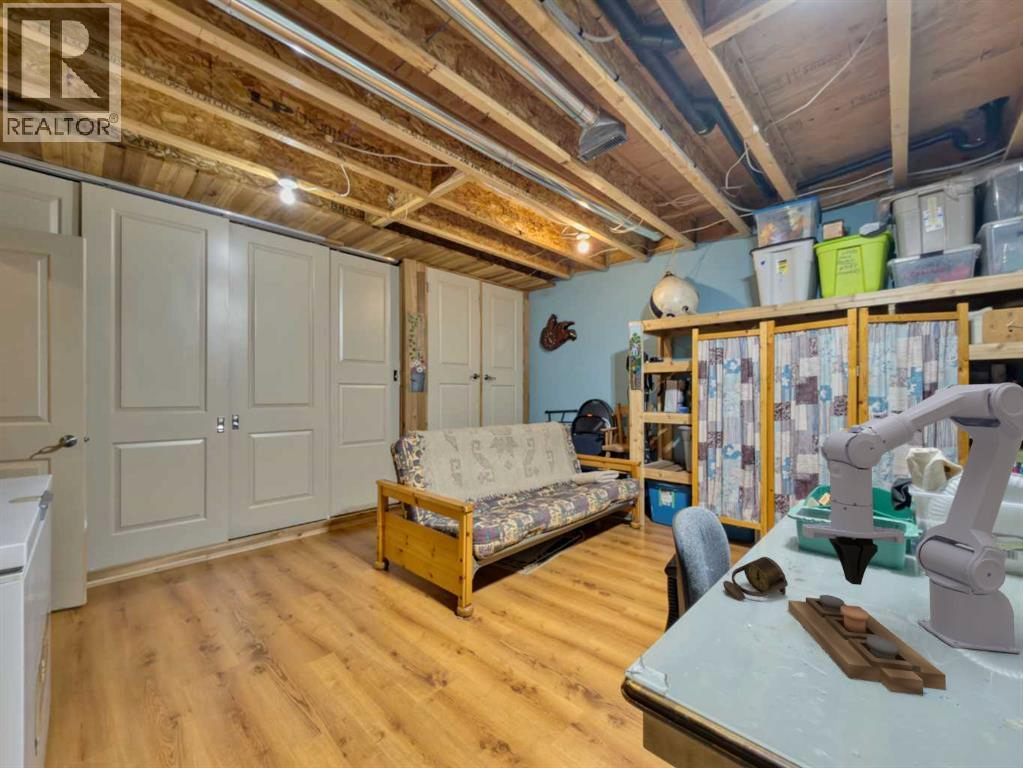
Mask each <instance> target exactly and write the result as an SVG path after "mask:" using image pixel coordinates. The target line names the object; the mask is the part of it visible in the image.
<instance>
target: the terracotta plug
mask: <svg viewBox="0 0 1023 768" xmlns="http://www.w3.org/2000/svg"><path fill="white" fill-rule="evenodd" d="M854 606H855V605H848V604H846V605H843V606H841V614H842V615H844V629H845V630H846V631H847V632H853V633H863V634H866V627H865V621H867V620H868V614H869V612H868V611H866V610H865V609H863V608H862V607H861V608H862V609H861V608H858V607H854Z"/></svg>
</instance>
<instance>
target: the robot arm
mask: <svg viewBox="0 0 1023 768" xmlns="http://www.w3.org/2000/svg"><path fill="white" fill-rule="evenodd" d="M872 416H873V418H871V419H869V420H868V421H865V422H863V423H860V424H853V425H850V427H849V428H850V429H848V430H847V431H845V432H844V431H834V432H832V433H831V434H829V435H828V436H827V437H826V438H825V439H824V440H823V444H822V446H820V447H819V449H820V453H821V456H822V458H823V459H824V460H825V461H826V466H827V468H826V469H827V470H828V472H829V489H830V490H829V493H830V494H829V495H830V497H829V499H830V523H826V522H825V523H808V524H807V523H804V524H802V536H803V537H805V538H807V539H809V540H810V539H811V540H812V539H813V540H814V539H817V538H818V539H828V541H829V543H830V544H831V546H832V547H833V549H834V551H835V553H836V556H837V557H838V559H839V562H840V565H841V567H842V570H843V571H842V572H843V575H844V578H845V580H846V581H847V582H848V583H850V584H851V585H856V586H861V585H862V583H863V578H864V575H865V572H866V570H867V567H868V566H869V564H870V562H871V560H872V559H873V557H874V556H875V555H876V554H877V553H878V552H879V551H878V550H879V546H878V544H876V543H875V542H887V543H888V542H889V543H896V544H903V545H905V532H904V531H902V530H901V529H898V528H890V527H880V526H874V504H873V503H874V502H873V501H874V498H873V497H874V496H873V469H872V467H873V468H875V467H876V466H877V465H878V464H879V463H880V461H881V459H882V456H884V455H885V454H886V453H888V452H890V451H893V450H895V449H896V448H899V447H901V446H903V445H905V444H907V443H909V442H912V440H913V439H914V436H915V431H918V430H920V429H924V428H925V427H928V426H930V425H933V424H935V423H938V422H940V421H943V420H945V419H948V420H950V421H951V422H952V423H953V424H954V425H956V427H958V428H959V429H960V430H961V431H962V432H964V433H966V434H968V435H969V436H970V438H971V439H972V444H971V447H970V449H969V453H968V456H967V459H966V461H965V463H964V467H963V469H962V470H963V471H962V473H961V476H960V479H959V482H958V485H957V487H956V491H955V494H954V497H953V500H952V502H951V506H950V508H949V511H948V515H947V518H946V521H945V522H943V523H940V524H938V525H935V526H931V527H929V528H928V529H927V532H926V534H925V536H924V537H923V539H922V540H921V541H919V543H918V544H917V546H916V549H915V559H916V561H917V563H918V565H919V567H920V568H922V569H923V570H924V575H925V576H926V577H927V578H929V579H928V583H929V585H928V586H929V612H930V613H929V620H928V619H916V623H917V624H919V625H920V626H921V627H923V628H924V629H926V630H928V631H929V632H930V633H932V634H933V635H935V636H936V637H938V638H939V639H940V640H942V641H943V642H945V643H946V644H947V645H949V646H952V647H953V648H962V649H964V648H965V649H972V650H973V649H974V650H984V651H993V652H994V651H995V652H1005V653H1015V654H1019V653H1020V651H1021V650H1020V649H1018V648H1017V647H1016V646H1015V644H1016V643H1015V640H1016V639H1015V615H1014V612H1015V611H1014V609H1013V606H1012V605H1013V604H1012V603H1011V601H1010V599H1009V598H1008V597H1007V595H1006V594H1005V593H1004V592H1002V591H1001V590H1000V589H1001V587H1003V585H1004V584H1005V581H1006V569H1005V562H1006V558H1007V552H1006V551H1005V550H1003V549H1002V548H1001V546H999V544H997V542H996V541H995V540H994V539H993V537H991V536H992V534H993V530H994V527H995V525H996V521H997V518H998V515H999V512H1000V509H1001V505H1002V503H1003V501H1004V500H1003V499H1004V497H1005V494H1006V491H1007V488H1008V485H1009V481H1010V479H1011V475H1012V473H1013V470H1014V466H1015V463H1016V460H1017V458H1018V455H1019V452H1020V449H1021V446H1022V441H1023V387H1022V386H1021V385H1019V384H1017V383H1015V382H1001V383H984V384H982V383H981V384H980V383H979V384H959V383H957V384H956V383H954V384H953V383H952V384H949V385H946V386H943V388H937V389H936V390H935V391H934V392H933V395H931V396H929V397H927V398H925V399H923V400H922V401H919V403H917V404H914V405H913V406H911V407H908V409H906V410H904V411H902V412H900V413H894V412H891V411H889V412H885V411H878V412H876V413H874V414H873V415H872ZM961 545H963V546H961ZM964 546H966V547H964ZM967 547H969V548H967ZM970 548H972V549H970Z"/></svg>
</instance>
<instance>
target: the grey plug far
mask: <svg viewBox="0 0 1023 768" xmlns="http://www.w3.org/2000/svg"><path fill="white" fill-rule="evenodd" d="M819 599H820V603H821V604H822V608H823V609H824V610H825V611H832V612H841V606H843V605H844V603H845V601H844V600H843V599H842V598H839V597H837V596H833V595H829V594H821V595H819Z"/></svg>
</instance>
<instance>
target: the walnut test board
mask: <svg viewBox="0 0 1023 768" xmlns="http://www.w3.org/2000/svg"><path fill="white" fill-rule="evenodd" d="M787 601H788V605H787V606H788V612H789V613H790V614H791V615H792V617H793V618H795V620H796V621H797V622H798V623H799V624H800V625H801V627H803V629H804V630H805V631H806V632H807V633H808V634H809V635H810V636H811V637H812V639H813V641H815V642H816V643H817V644H818V645H819V647H821V648H822V649H823V650H824V652H825V654H827V656H829V658H830V659H832V661H833V662H834V663H835V664H836V665H837V667H838V668H840V670H841V671H842V672H843V673H844V674H845V675H846V676H847V678H848V679H853V680H854V679H855V680H863V681H873V682H880V683H881V684H883V686H885V688H886V689H888V691H889V692H894V693H903V694H910V695H911V694H912V695H918V696H919V695H920V696H924V688H932V689H940V690H947V684H946V683H947V682H946V679H947V678H946V677H947V675H946V673H943V671H941V670H940V669H939V668H937V667H936V666H935V665H934V664H932V662H930V661H929V660H927V659H926V658H925V657H924V656H922V655H921V654H920V653H919V652H918V651H916V650H915V649H914V648H913V647H911V646H910V645H908V644H907V643H906V642H905V641H903V640H902V639H901V638H900V637H898V636H897V635H896V634H894V633H893V632H892V631H891V630H890V629H888V628H887V627H886V626H885V625H883V624H882V623H881V622H879V620H878V619H876V618H874V617H873V616H872V615H871V614H869V613H868V620H867V621H865V627H866V634H863V633H853V632H847V631H846V630H845V629H844V615H842V614H841V612H832V611H825V610H824V609H823V608H822V604H821V603H820V597H819V598H818V597H817V598H816V597H805V601H803V600H802V601H801V600H791V599H790V600H787ZM844 605H847V604H846V603H845V602H844ZM853 606H854V607H858V608H861V609H863V608H862V607H861V606H858V605H857V606H856V605H853ZM869 636H876V637H881V638H884V639H887V640H890V641H892V642H893V643H895V644H896V645H897V646H898V655H895V660H891V659H882V658H875V657H874V656H873V655H872V654H871V653H870V648H869V647H868V646H867V637H869Z"/></svg>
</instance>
